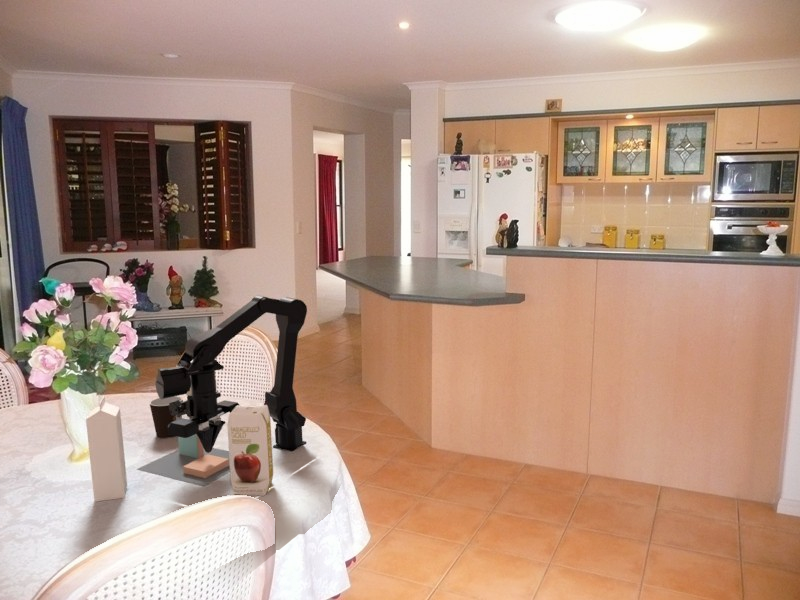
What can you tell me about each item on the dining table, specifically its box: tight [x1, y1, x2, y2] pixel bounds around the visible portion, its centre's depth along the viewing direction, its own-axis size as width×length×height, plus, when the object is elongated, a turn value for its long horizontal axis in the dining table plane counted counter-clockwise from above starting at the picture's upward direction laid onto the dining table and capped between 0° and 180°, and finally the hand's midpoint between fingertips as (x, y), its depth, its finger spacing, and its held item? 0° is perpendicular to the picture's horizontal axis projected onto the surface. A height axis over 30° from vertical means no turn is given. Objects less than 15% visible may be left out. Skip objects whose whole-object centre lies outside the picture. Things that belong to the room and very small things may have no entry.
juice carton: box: [226, 404, 274, 497], centre depth 138 cm, size 8×9×19 cm
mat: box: [136, 447, 230, 487], centre depth 154 cm, size 22×18×1 cm
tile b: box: [177, 434, 204, 458], centre depth 158 cm, size 7×2×8 cm, turn 63°
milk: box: [85, 395, 128, 503], centre depth 137 cm, size 6×6×22 cm
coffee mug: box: [149, 396, 184, 439], centre depth 174 cm, size 12×9×10 cm
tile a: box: [183, 454, 229, 478], centre depth 149 cm, size 7×2×8 cm
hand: (208, 452), depth 150 cm, fingers closed
